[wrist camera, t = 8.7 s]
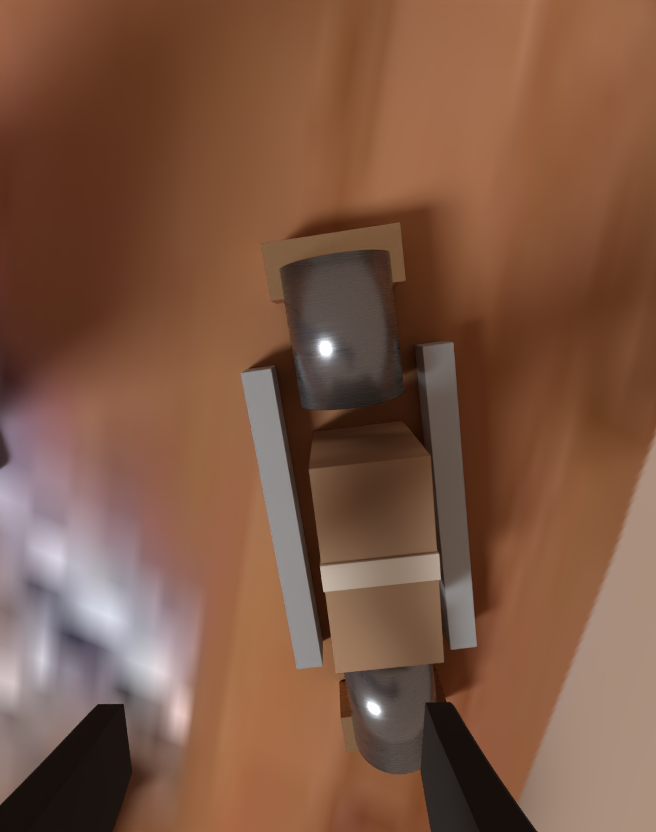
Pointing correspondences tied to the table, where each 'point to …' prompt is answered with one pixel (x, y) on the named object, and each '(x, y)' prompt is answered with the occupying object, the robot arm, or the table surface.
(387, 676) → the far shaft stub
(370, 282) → the near shaft stub
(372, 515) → the block
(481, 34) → the table surface
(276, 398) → the cradle
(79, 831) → the robot arm
